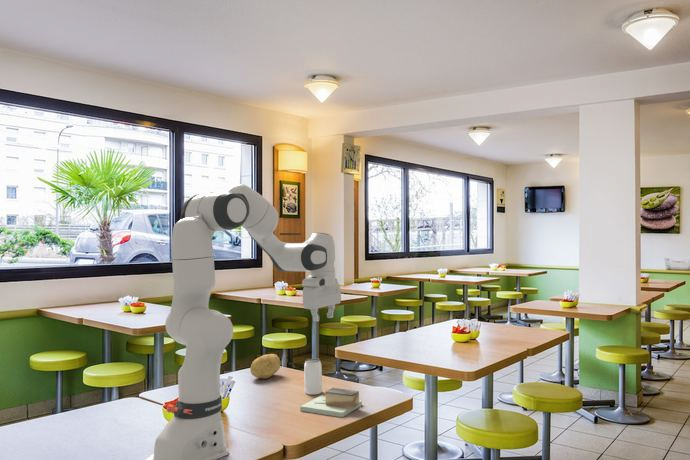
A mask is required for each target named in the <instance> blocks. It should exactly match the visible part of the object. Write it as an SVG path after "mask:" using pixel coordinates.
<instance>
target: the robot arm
mask: <svg viewBox="0 0 690 460" xmlns="http://www.w3.org/2000/svg"><path fill="white" fill-rule="evenodd" d="M278 224H279V213H278V211H277V209H276V208H275V207H274V205H273V204H272V203H271V202H270V201H268V200H267V199H266V198H265V197H264V196H263V195H262V194H260V193H259V192H258V191H256V190H254V189H253V188H251V187H249V186H248V185H246V184H244V183H236V184H233V185H232V186H230V187H229V188H228V189H227V191H224V192H222V191H220V192H218V191H217V192H216V191H214V192H213V191H211V192H205V193H202V194H199V193H198V194H195V195H191V196H190V197H189V198H187V199H186V200H185V201H184V203H183V204H182V207H181V212H180V218H179V220H178V221H177V222H176V223H175V224H174V226H173V229H172V235H171V237H172V238H171V260H172V261H171V262H172V265H171V266H172V277H173V278H172V279H173V294H172V300H171V301H172V302H171V306H170V307H171V308H170V312H169V314H168V315H167V317H166V320H165V326H164V327H165V331H166V333H167V335H168V336H170V338H172V340H173V341H174V342H176V343H178V344H180V345H183V346H185V348H186V349H185V355H184V360H183V363H182V366H181V367H180V368H179V370H178V373H177V378H178V382H177V383H178V384H177V385H178V387H177V388H178V399H177V400H176V403H175V405H172V404H168V405H167V407H166V412H167V413H170V414H171V413H172V414H173V417H172V418H171V419H170V420H169V422H167V424H166V425H165V427H164V428H163V429H162V430H161V432H160V433H159V434H158V435H157V437H156V438H155V441H154V447H153V448H154V449H153V453H152V454H151V455H150V456H148V457H146V458H145V459H144V460H218V459H220V458H223V457H225V456H227V455H229V448H228V444H227V441H226V435H225V426H224V425H225V424H224V421H223V418H222V413H221V412H222V409H223V400H222V395H221V379H220V378H221V364H222V359H223V356H224V352H225V348H226V347H227V346H228V345H229V343H230V342H231V341H232V338H233V335H234V326H233V323H232V321H231V319H230V318H229V317H227V315H225V314H223V313H222V312H220V311H218V310H216V309H210V308H209V303H210V297H211V292H212V290H213V289H214V287H215V285H216V272H215V271H216V270H215V258H214V248H213V242H212V241H213V238H214V234H215V232H222V231H226V230H227V231H232V230H236V229H238V228H239V227H242V228H243V229H244V230H246V231H247V232H248V235H249V237H250V238H251V239H252V240H253V241H254V242H255V243H256V244H257V245H258V246H259V247H260V248H261V250H262V251H264V253H265V254H267V256H268V257H269V258H270V260H271V262H272V264H273V266H274V267H275V268H276V269H277V271H280V272H282V273H284V272H285V273H287V272H307V273H308V272H309V274H308V276H306V277H305V278H303V280H302V281H301V285H302V287H303V289H302V305H303V308H304V309H305V310H310V314H311V317H312V321H313V322H319V321H320V315H319V314H318V312H319V309H320V308H326V307H327V308H328V310H327V311H328V312H326V317H327V319H332V318H334V311H335V309H336V305H338V304H341V302H342V293H341V286H340V283H339V281H338V279H337V278H336V267H335V261H336V248H335V240H334V238H333V236H332V235H331V234H329V233H326V232H313V233H311V236H310V237H309V238H308V239H307V240H305V241H303V242H284V241H281V240H280V239H279V238H278V237H277V235H275V234H274V232H275V230H276V229H277V227H278Z"/></svg>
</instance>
